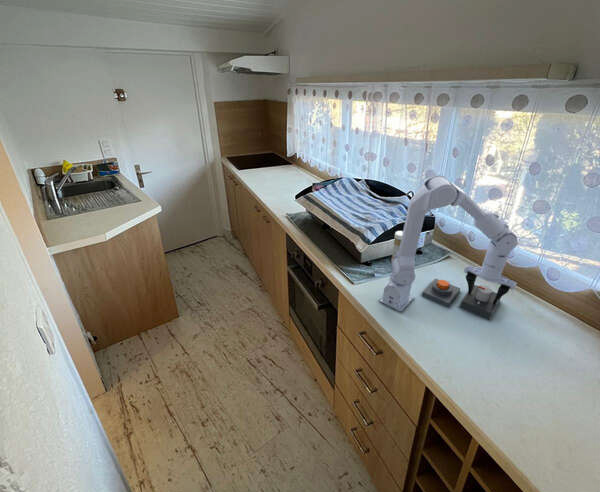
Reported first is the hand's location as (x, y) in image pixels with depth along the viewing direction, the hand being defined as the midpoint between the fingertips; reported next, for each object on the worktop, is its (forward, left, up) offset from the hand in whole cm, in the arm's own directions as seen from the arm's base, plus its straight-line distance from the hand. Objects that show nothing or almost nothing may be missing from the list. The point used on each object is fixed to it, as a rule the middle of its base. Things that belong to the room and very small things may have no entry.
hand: (482, 297), depth 102 cm
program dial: (0, 0, 0) cm, 0 cm away
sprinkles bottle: (+6, +34, -3) cm, 35 cm away
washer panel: (0, 0, -3) cm, 3 cm away
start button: (-3, +12, 0) cm, 12 cm away
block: (-3, +12, -3) cm, 13 cm away
